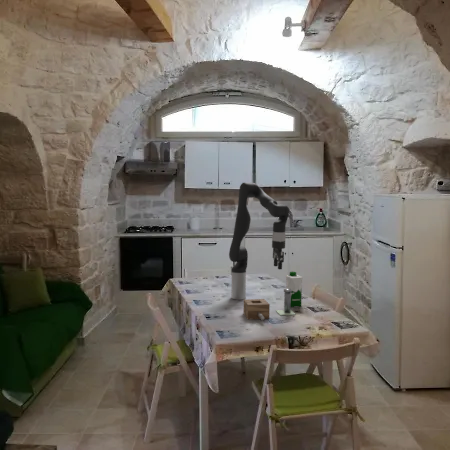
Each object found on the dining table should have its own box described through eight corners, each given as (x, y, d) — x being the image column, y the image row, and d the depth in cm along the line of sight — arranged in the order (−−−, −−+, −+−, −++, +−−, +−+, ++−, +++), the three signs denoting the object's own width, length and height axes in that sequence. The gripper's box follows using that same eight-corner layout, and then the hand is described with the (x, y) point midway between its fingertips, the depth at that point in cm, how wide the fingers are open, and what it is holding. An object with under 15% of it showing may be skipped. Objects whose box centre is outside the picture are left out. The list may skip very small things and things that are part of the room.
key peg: (281, 311, 267) (282, 288, 266) (289, 310, 269) (289, 288, 267) (285, 313, 263) (285, 290, 262) (292, 312, 264) (293, 290, 263)
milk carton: (297, 303, 288) (298, 271, 287) (303, 306, 280) (304, 274, 278) (284, 303, 286) (284, 271, 284) (290, 307, 277) (290, 274, 276)
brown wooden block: (243, 313, 265) (243, 299, 264) (263, 312, 267) (264, 298, 266) (251, 324, 244) (251, 309, 243) (273, 323, 246) (273, 308, 245)
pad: (275, 311, 269) (275, 310, 269) (290, 310, 271) (290, 309, 271) (280, 315, 260) (280, 314, 260) (295, 315, 262) (295, 314, 262)
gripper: (269, 238, 271) (268, 265, 273) (275, 241, 257) (274, 270, 259) (281, 238, 272) (280, 265, 274) (288, 241, 258) (287, 270, 260)
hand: (277, 267), depth 266 cm, fingers open, 8 cm apart
